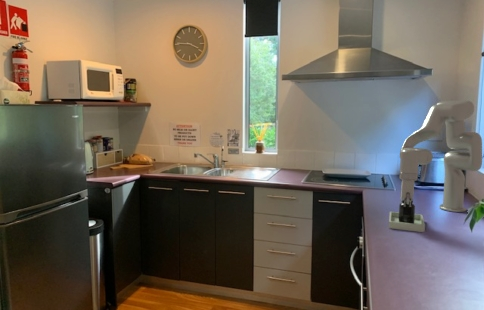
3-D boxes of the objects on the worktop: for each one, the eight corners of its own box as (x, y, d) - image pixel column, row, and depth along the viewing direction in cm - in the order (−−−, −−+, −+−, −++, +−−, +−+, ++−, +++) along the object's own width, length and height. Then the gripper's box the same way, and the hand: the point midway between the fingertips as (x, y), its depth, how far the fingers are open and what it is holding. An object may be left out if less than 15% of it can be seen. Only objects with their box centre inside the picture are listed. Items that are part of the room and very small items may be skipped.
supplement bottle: (400, 219, 176) (402, 195, 175) (416, 222, 172) (417, 197, 170) (396, 223, 171) (397, 198, 169) (412, 226, 166) (413, 200, 165)
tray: (389, 217, 182) (389, 211, 182) (421, 220, 176) (422, 214, 176) (388, 228, 166) (389, 221, 165) (424, 232, 160) (424, 225, 160)
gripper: (399, 172, 178) (397, 206, 180) (399, 178, 162) (397, 216, 164) (416, 173, 175) (414, 208, 177) (418, 180, 159) (416, 218, 161)
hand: (406, 212), depth 170 cm, fingers open, 9 cm apart
